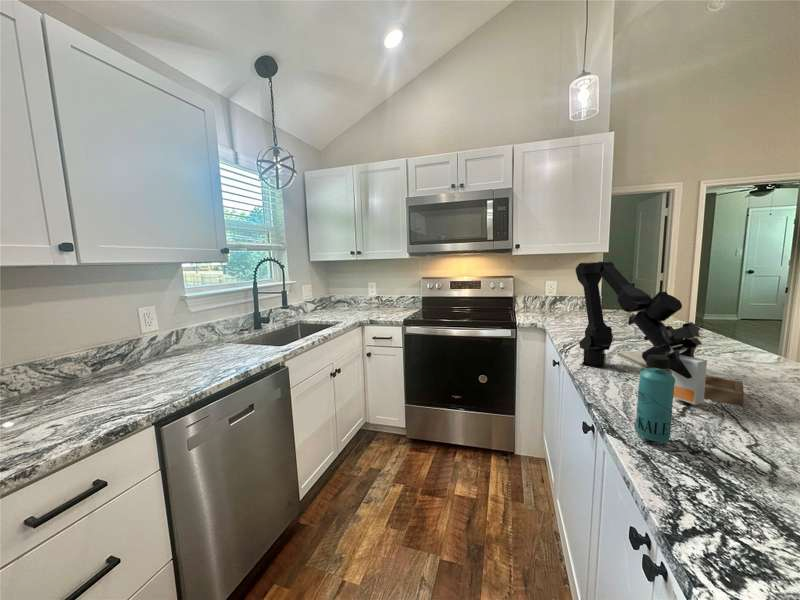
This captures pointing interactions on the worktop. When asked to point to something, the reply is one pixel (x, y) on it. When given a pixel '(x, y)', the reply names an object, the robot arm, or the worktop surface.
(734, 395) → the walnut holder
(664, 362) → the beverage bottle
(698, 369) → the skincare box
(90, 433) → the worktop surface
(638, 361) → the washcloth
